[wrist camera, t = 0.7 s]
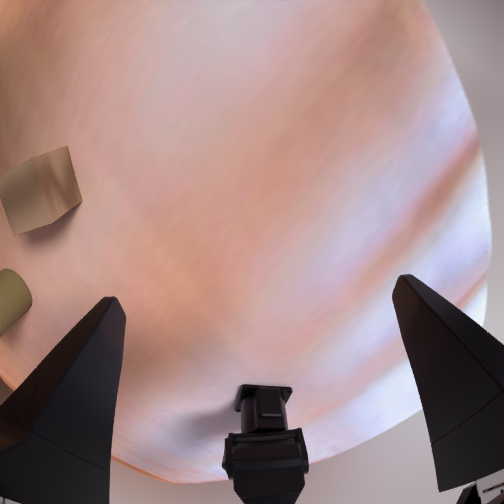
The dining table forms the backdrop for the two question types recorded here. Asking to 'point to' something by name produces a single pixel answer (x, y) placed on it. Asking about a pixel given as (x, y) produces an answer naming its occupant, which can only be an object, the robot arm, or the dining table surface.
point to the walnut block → (39, 191)
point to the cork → (12, 299)
